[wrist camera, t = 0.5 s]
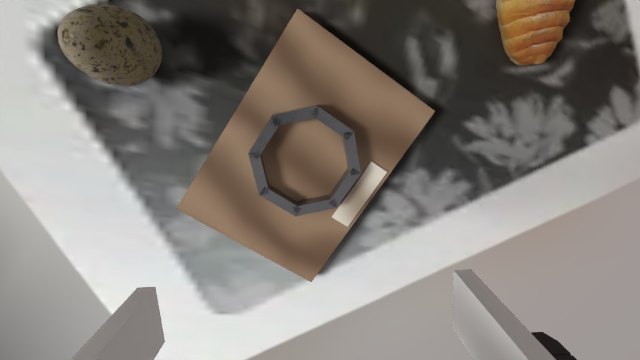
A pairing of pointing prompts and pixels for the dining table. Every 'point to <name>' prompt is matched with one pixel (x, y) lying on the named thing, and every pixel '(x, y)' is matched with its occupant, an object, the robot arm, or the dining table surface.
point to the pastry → (532, 28)
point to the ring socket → (313, 203)
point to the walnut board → (305, 148)
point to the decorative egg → (110, 44)
